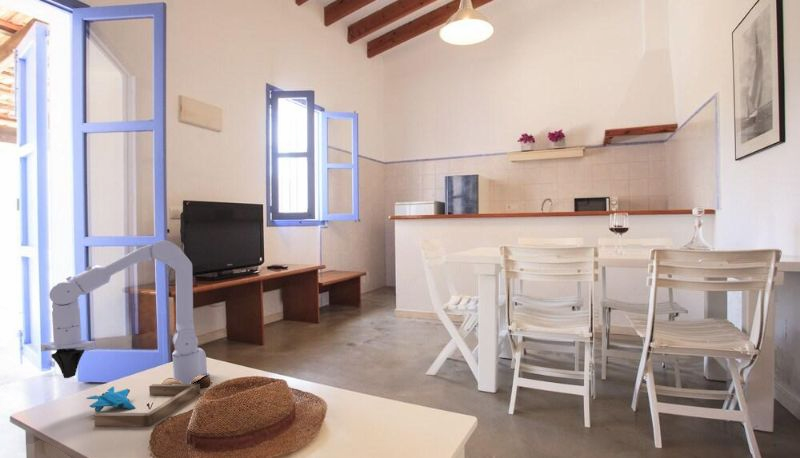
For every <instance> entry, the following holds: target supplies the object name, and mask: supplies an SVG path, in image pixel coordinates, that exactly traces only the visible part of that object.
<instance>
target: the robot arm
mask: <svg viewBox="0 0 800 458" xmlns="http://www.w3.org/2000/svg"><path fill="white" fill-rule="evenodd" d="M152 258H154V260H156V261H158V262H160V263H162V264H165V265H166V264H167V266H169V267H170V268H172V269H173V270H174V271H175V319H176V320H175V332H174V333H173V337H172V344H173V346H174V350H173V352H172V353H171V355H172V370H173V380H174V379H177V380H179V381H181V382H182V383H183V384H190V382H191V381H192V380H193V379H194V378H195V377H197V376H199V375H207V376H209V375H210V372H208V367H207V355H206V354H207V353H206V352H205V350H204V349H203V348H201V347H198V345H199V339H198V337H197V335H196V332H195V324H194V294H193V293H194V290H193V289H194V287H193V286H194V285H193V282H194V281H193V263H192V261H191V260H190V259H189V258H188V256H187V255H186V254H185V253H184V252H183V250H182V249H181V247H180V246H178V245H176V243H174V242H172V241H169V240H166V239H165V240H164V239H163V240H158V241H156V242H155V243H154V244H153V243H152V244H148V245H145V246H142V247H139V248H137V249H135V250H133V251H131V252H129V253H127V254H126V255H123V256H122V257H120V258H118V259H116V260H115V261H112V262H111V263H109V264H107V265H105V266H103V265H99V264H98V265H93V266H92V265H89V266H87V267H85V270H84V271H81V272H80V273H77V274H76V275H73V276H68V277H66V278H65V279H66V281H62V282H58V283H57V284H56V285H54V286H52V288H51V289H50V291H49V295H48V296H49V299H50V300H51V302H52V305H51V307H52V311H51V314H52V315H51V318H52V333H53V341H49V342H45V343H44V342H43V343H41V344H40V352H46V351H47V352H49V351H56V352H54V353H52V354H51V358H52V359H53V360H54V361H55V362H56V364H57V365H58V368H59V369H60V372H61V374H62V376H63V378H64V379H70V378H72V377H75V376H76V373H77V369H78V366H79V363H80V360H81V357H82V356H83V354H84V353H85V351H86V352H87V351H92V350H94V349H96V341H94V340H93V341H91V340H84V339H82V324H81V309H80V306H79V299H78V298H79V297H80V296H85V295H87V294H89V293H91V292H93V291H95V290H98V289H99V288H101V287H102V286H104V285H106V284H108V283H110V280H111V277H112V276H113V275H115V274H117V273H118V272H122V271H123V270H125V269H127V268H129V267H131V266H134V265H135V264H137V263H140V262H150V261H153V259H152Z"/></svg>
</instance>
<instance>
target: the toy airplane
mask: <svg viewBox="0 0 800 458" xmlns="http://www.w3.org/2000/svg"><path fill="white" fill-rule="evenodd" d="M130 391H131V389H128V388H125V389H122V390H118V391H115V386H111V387H110V388H109V389H107V391H106V392H103V393H102V394H101V395H97V394H95V395H92V396H91V395H90V396H88V397H86V399H87V400H96V401H94V403H91V404H90V405H89V407H90V408H94V411H95V412H101V410H103V409H104V407H112V406H113V407H115V408H118V409H119V408H125V409H128V410H136V406H135V405H134V404H133V403H132V401H130V399H129V397H128V395H129V393H130Z"/></svg>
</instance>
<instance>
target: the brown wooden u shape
mask: <svg viewBox="0 0 800 458" xmlns="http://www.w3.org/2000/svg"><path fill="white" fill-rule="evenodd" d="M162 384H163V383H153V384H150V385H149V386H148V388H149V391H148V392H149V396H173V397H170V399H168V400H166V401H165V402H163V403H161V404H159V405H158V406H157V407H155V408H153V409H152V410H150V411H148V412H98V413H96V414H94V415H93V420H94V421H93V422H94V427H151V426H153V425H154V424H156V423H157V422H159V421H160V420H161V419H162V418H164V417H166V416H167V415H169V414H171V413H172V412H173V411H175V410H176V409H178V408H179V407H181V406H183V405H184V404H186V403H187V402H188V401H190V400H191V399H193V398H194V397H196V396H198V395H199V394H201V384H200V383H194V384H172V385H162ZM163 388H166V391H164V390H163Z"/></svg>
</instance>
